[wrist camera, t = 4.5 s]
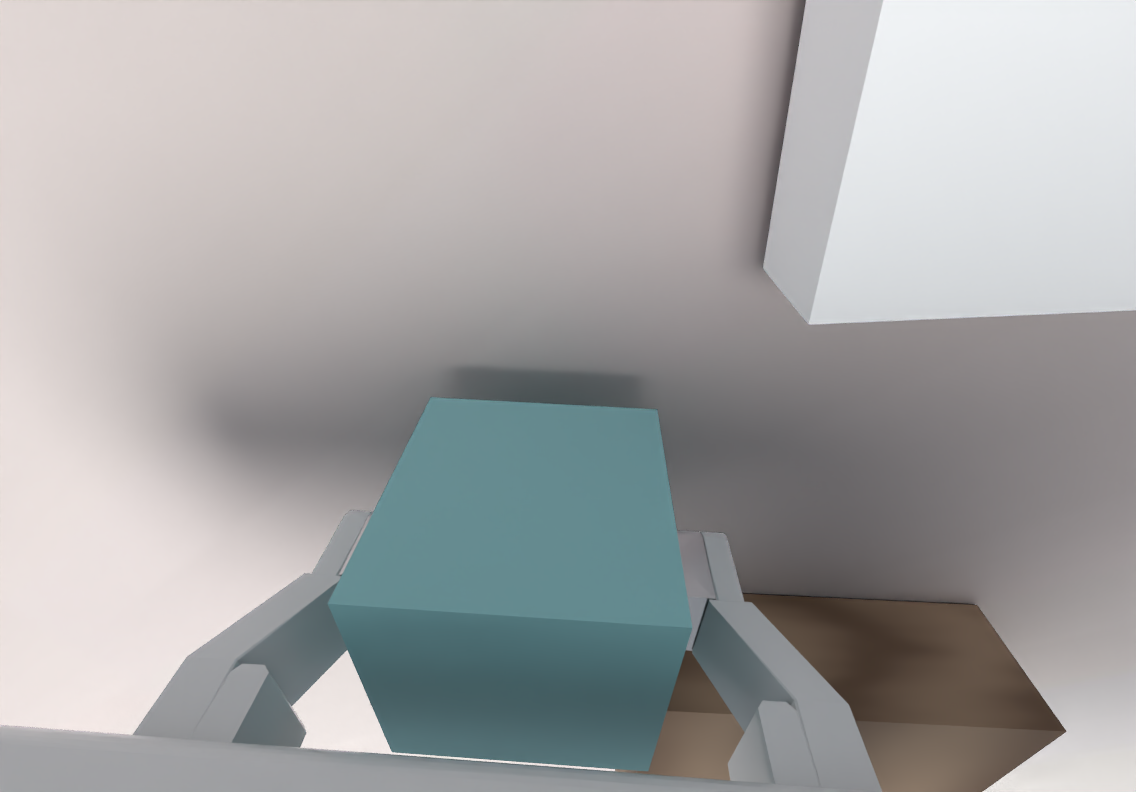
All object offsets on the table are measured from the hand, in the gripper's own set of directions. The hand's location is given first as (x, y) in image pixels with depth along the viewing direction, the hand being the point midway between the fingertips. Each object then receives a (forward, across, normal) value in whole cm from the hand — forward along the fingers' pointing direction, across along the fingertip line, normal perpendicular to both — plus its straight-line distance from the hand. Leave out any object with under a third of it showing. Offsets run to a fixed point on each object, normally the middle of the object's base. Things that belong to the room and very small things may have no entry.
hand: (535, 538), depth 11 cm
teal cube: (+2, 0, 0) cm, 2 cm away
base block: (+4, -9, +13) cm, 16 cm away
